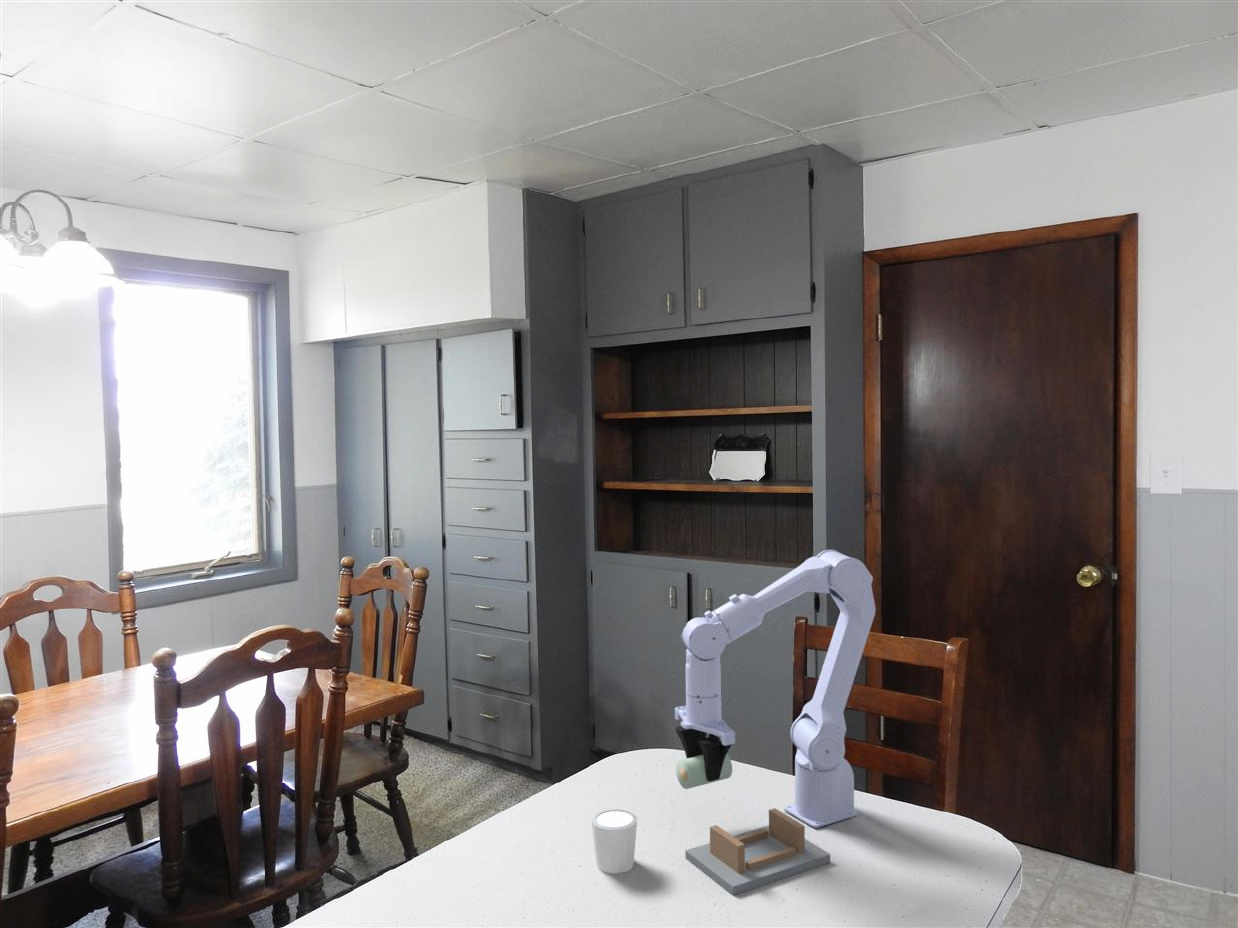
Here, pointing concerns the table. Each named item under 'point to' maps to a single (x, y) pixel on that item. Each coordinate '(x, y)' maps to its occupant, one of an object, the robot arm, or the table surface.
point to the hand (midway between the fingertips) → (704, 773)
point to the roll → (699, 771)
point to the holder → (757, 854)
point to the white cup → (614, 840)
